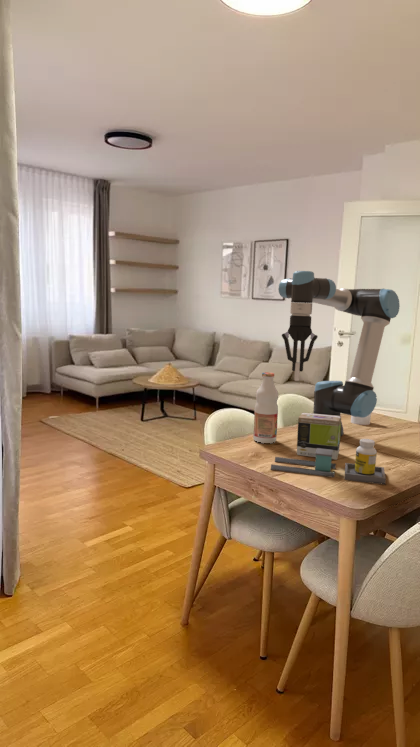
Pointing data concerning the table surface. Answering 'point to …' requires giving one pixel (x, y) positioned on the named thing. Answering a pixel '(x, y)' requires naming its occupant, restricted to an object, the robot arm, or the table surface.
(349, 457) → the table surface
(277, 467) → the guide rail
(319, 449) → the teal and grey cube
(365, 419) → the white cylinder
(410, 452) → the table surface
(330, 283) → the robot arm
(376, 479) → the tray
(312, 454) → the tea box
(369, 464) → the pill bottle
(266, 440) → the fruit juice
